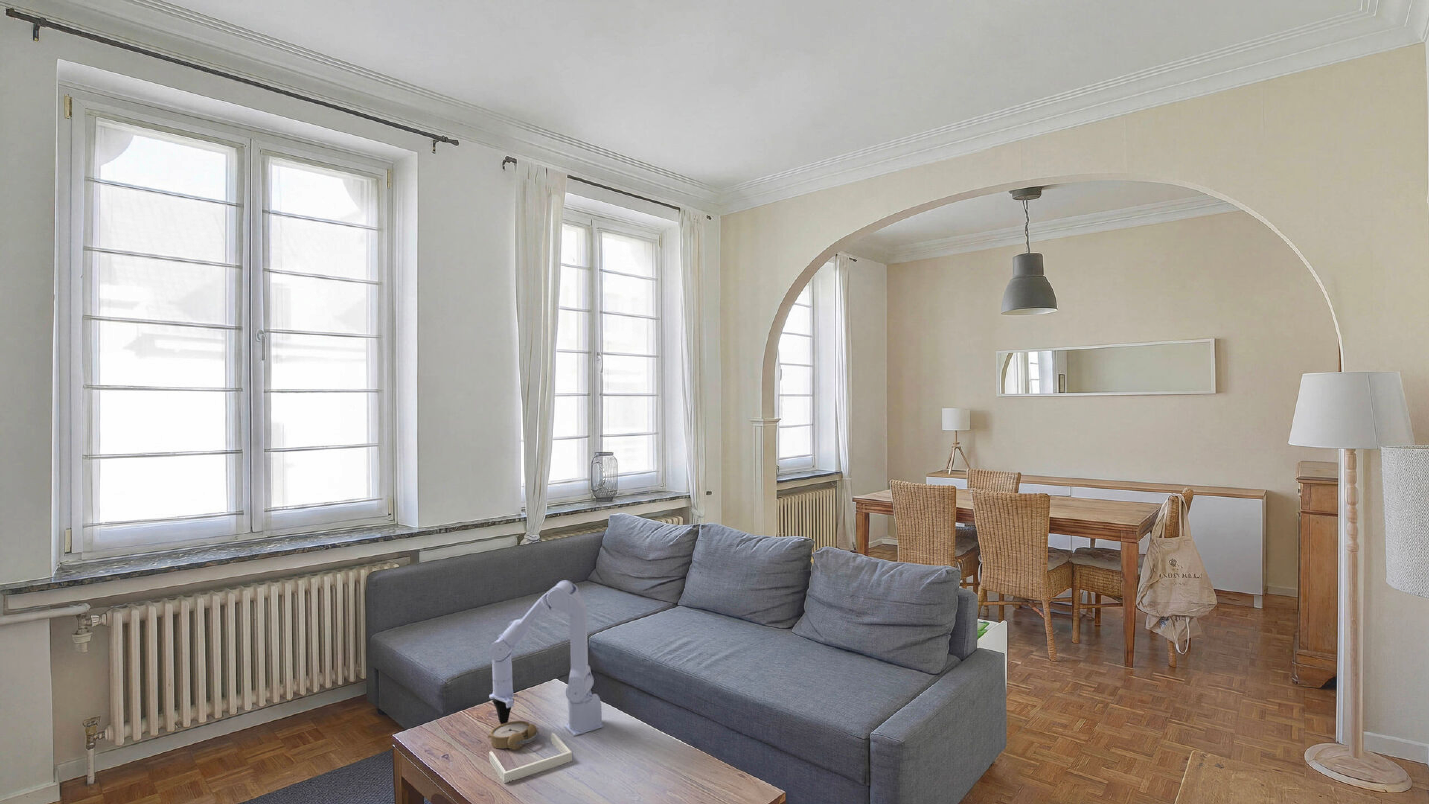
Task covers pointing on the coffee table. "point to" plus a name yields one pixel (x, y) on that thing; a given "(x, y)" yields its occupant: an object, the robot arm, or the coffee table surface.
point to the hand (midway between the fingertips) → (503, 722)
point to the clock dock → (535, 766)
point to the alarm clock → (513, 735)
